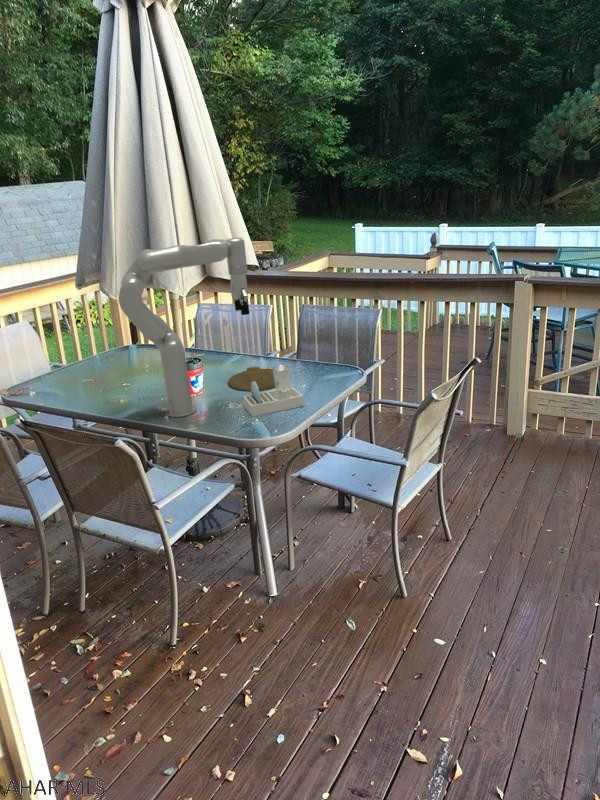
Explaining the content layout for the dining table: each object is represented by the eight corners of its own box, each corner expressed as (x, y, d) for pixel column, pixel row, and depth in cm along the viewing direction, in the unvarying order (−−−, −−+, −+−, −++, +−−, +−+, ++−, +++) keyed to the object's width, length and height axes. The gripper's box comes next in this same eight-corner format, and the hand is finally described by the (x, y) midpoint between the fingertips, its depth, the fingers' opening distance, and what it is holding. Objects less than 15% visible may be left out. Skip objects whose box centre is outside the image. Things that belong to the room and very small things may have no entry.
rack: (252, 416, 249) (249, 388, 245) (243, 406, 260) (240, 379, 256) (303, 406, 255) (301, 378, 251) (293, 396, 267) (291, 370, 263)
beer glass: (274, 405, 256) (271, 370, 251) (277, 399, 262) (274, 365, 257) (291, 405, 255) (288, 370, 250) (293, 399, 261) (290, 365, 256)
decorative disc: (237, 392, 273) (220, 371, 299) (237, 399, 274) (221, 378, 300) (297, 380, 281) (276, 361, 307) (298, 387, 283) (277, 367, 309)
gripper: (223, 268, 254) (228, 309, 260) (233, 273, 239) (238, 317, 245) (241, 266, 256) (245, 307, 262) (252, 271, 241) (257, 314, 247)
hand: (242, 312), depth 253 cm, fingers open, 9 cm apart
